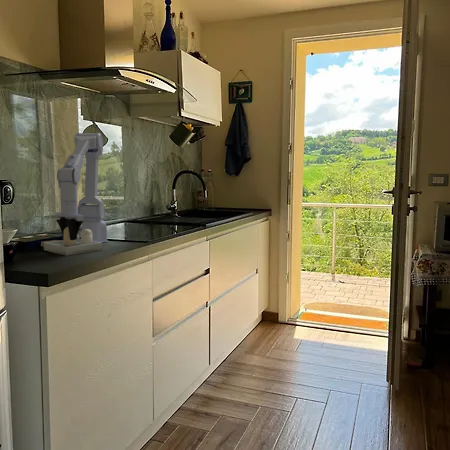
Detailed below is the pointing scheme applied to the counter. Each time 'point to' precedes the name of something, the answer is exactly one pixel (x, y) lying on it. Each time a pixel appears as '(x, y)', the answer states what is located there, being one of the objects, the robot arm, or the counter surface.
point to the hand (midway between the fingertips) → (69, 239)
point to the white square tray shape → (82, 245)
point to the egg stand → (47, 241)
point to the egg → (68, 239)
